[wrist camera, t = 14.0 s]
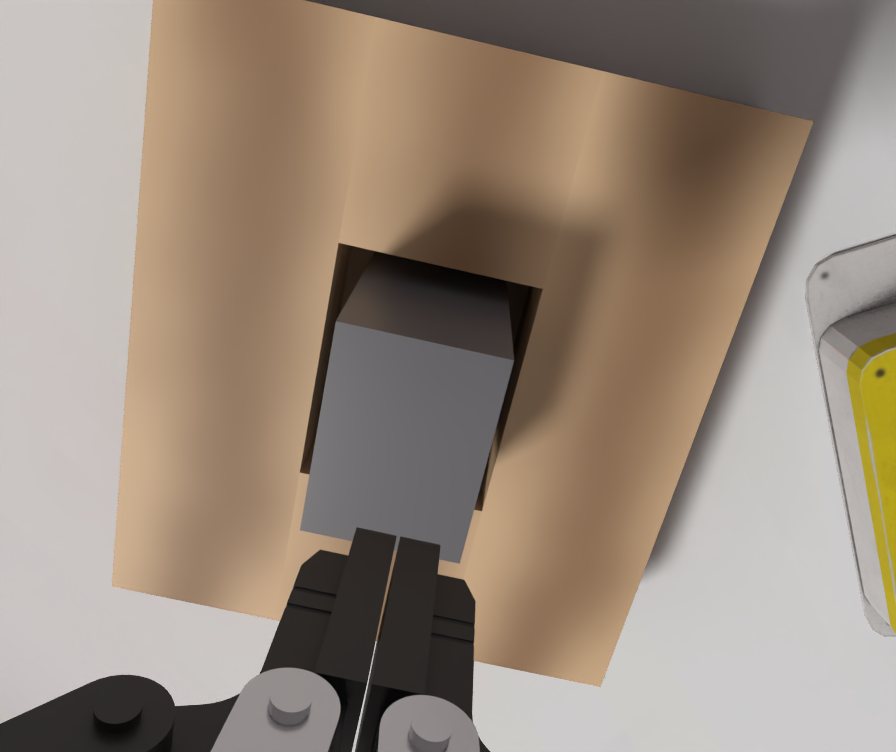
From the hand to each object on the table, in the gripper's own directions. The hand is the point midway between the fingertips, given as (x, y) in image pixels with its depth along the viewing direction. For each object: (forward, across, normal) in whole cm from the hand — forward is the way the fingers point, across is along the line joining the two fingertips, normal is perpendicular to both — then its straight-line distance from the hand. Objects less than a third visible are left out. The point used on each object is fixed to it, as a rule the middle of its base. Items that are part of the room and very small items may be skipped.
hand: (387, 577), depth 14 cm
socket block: (+13, 0, 0) cm, 13 cm away
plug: (+12, 0, 0) cm, 12 cm away
